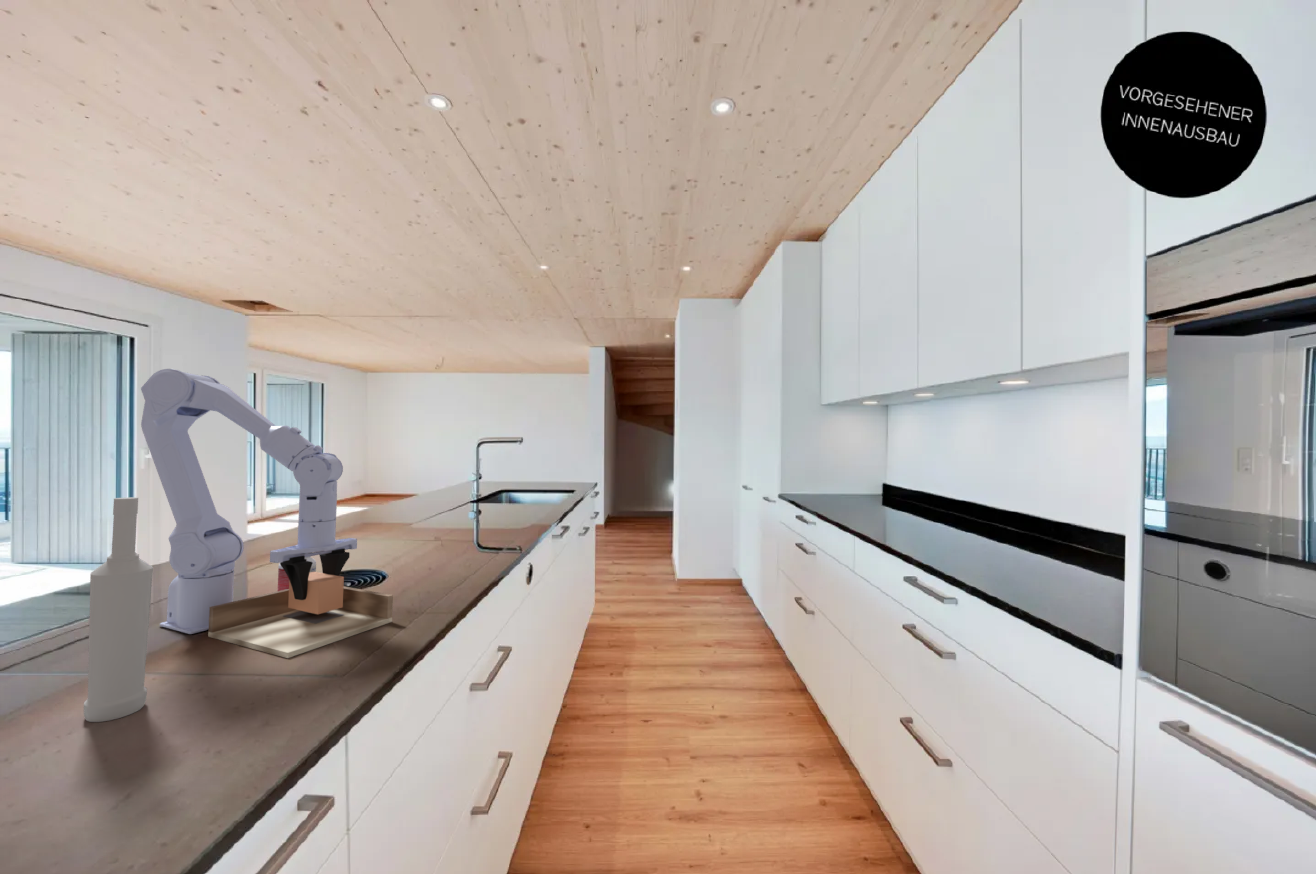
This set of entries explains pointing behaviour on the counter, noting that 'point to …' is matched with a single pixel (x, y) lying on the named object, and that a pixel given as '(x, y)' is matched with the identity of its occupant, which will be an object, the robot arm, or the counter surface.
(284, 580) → the pill bottle
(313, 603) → the block
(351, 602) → the tray
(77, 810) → the counter surface
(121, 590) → the bottle
